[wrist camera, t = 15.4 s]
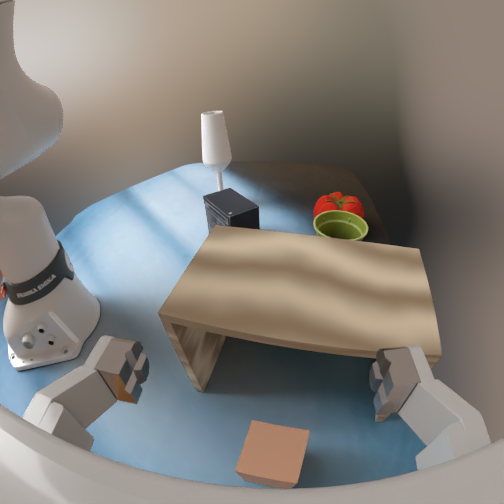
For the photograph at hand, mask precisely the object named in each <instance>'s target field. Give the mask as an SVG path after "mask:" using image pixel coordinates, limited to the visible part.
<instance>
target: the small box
mask: <svg viewBox="0 0 504 504" xmlns="http://www.w3.org/2000/svg"><path fill="white" fill-rule="evenodd" d="M203 198H204V203H205V208H206V215H207V221H208V228H209V234H210V232H211V231H212V229H213V228H214V227H215V225H218V226H228V227H238V228H248V229H258V230H260V228H259V206H257V205H256V204H254V203H253V202H251V201H250V200H248V199H246V198H245V197H243V196H242V195H240V194H239V193H237V192H236V191H234V190H233V189H231V188H228V189H225V190H222V191H219V192H215V193H212V194H208V195H205V196H203Z"/></svg>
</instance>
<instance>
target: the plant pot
mask: <svg viewBox="0 0 504 504" xmlns="http://www.w3.org/2000/svg"><path fill="white" fill-rule="evenodd" d="M313 225H314V228H315V230H316V234H317V236H321V237H329V238H338V239H346V240H354V241H362V240H363V238H364V237H365V236H366V235H367V232H368V225H367V223H366V222H365V221H364V220H363V219H362V218H361V217H359V216H357V215H355V214H353V213H350V212H347V211H340V210H332V211H326V212H323V213H321V214H319V215H317V216H316V217H315V219H314V222H313Z"/></svg>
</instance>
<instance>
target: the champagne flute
mask: <svg viewBox="0 0 504 504" xmlns="http://www.w3.org/2000/svg"><path fill="white" fill-rule="evenodd" d="M201 124H202V154H203V155H202V156H203V163H204V164H205V165H206V166H207V167H208V168H210V169H211V170H213V171H215V172H216V174H217V182H218V190H219V191H222V190H223V183H222V174H221V171H223V170H224V169H225V168H226V167H227V166H228V164H229V163H230V161H231V158H232V156H231V151H230V145H229V140H228V136H227V130H226V125H225V120H224V115H223V111H211V112H205V113H202V114H201Z"/></svg>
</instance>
